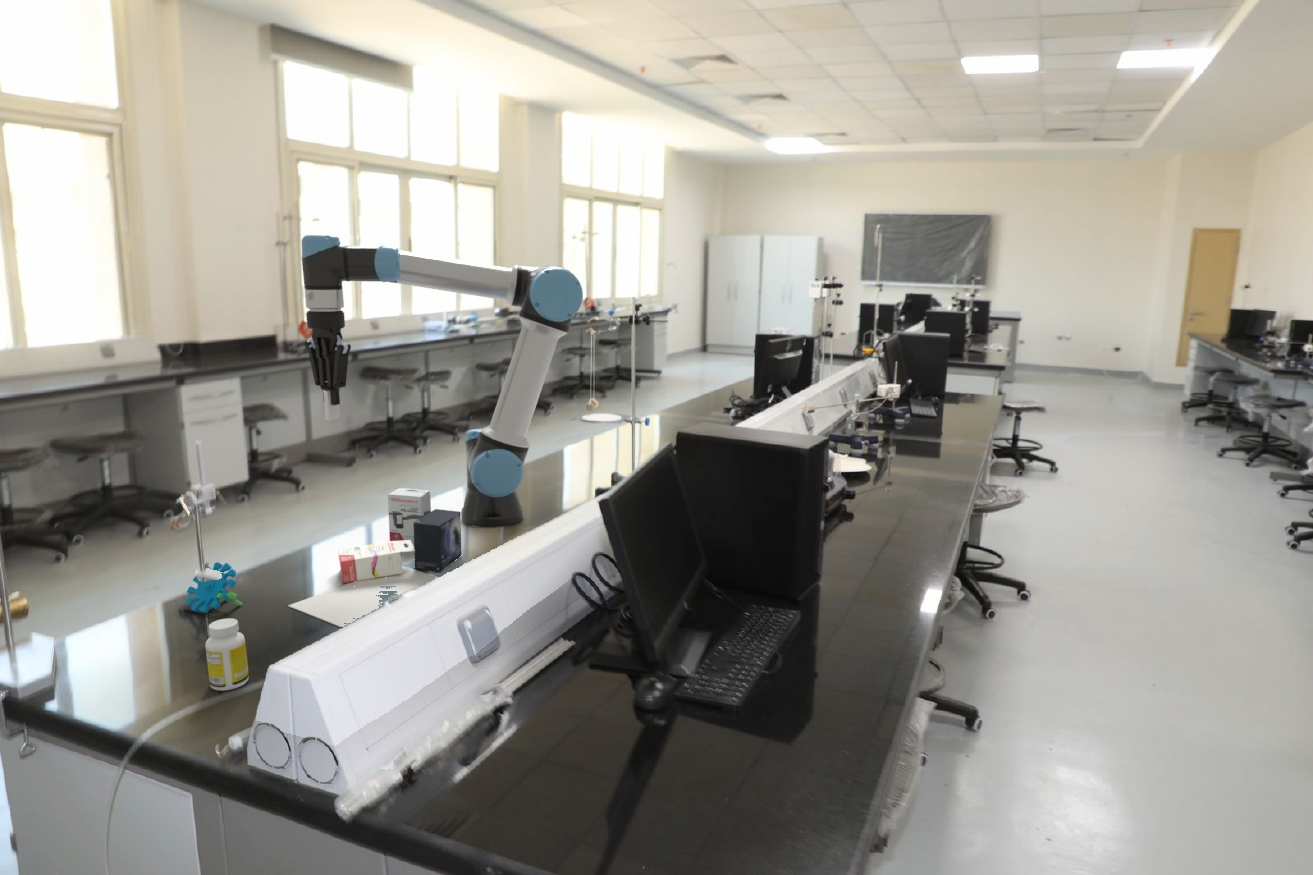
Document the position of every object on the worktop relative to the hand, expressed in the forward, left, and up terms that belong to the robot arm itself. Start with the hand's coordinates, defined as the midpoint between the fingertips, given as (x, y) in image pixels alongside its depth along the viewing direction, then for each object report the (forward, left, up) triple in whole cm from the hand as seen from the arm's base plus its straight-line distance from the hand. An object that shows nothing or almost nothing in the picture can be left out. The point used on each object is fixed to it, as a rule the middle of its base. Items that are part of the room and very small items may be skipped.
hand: (332, 419), depth 184 cm
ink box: (-12, +9, -30) cm, 33 cm away
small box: (-6, +25, -30) cm, 39 cm away
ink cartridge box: (+11, +15, -27) cm, 33 cm away
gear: (+34, +9, -30) cm, 46 cm away
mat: (+13, +29, -29) cm, 43 cm away
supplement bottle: (+48, +39, -30) cm, 69 cm away
